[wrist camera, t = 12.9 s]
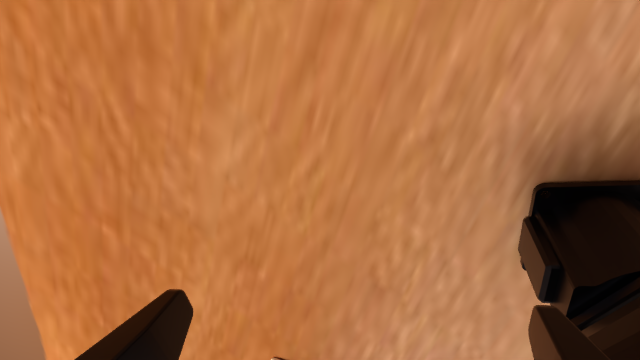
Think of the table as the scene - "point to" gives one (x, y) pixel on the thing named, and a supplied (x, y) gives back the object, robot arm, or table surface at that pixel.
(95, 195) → the table surface
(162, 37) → the table surface
